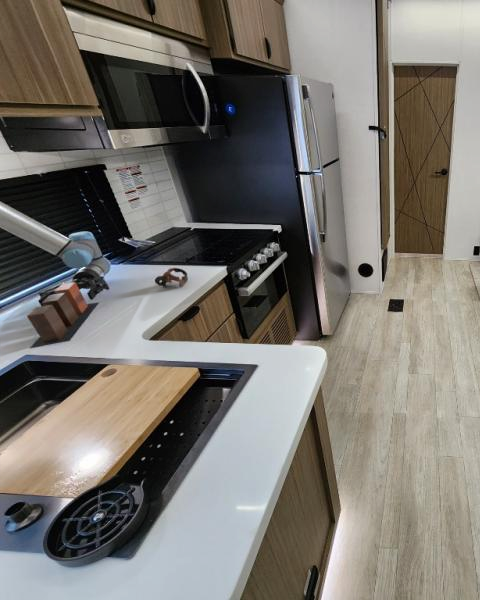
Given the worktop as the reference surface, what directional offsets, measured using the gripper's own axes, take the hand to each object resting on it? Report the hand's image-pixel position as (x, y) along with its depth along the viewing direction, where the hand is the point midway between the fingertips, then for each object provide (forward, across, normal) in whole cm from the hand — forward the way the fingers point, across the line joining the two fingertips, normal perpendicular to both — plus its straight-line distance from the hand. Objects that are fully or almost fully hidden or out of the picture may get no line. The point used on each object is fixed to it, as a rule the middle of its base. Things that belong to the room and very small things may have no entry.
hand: (66, 300), depth 117 cm
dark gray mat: (+6, 0, -7) cm, 9 cm away
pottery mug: (-15, -29, -7) cm, 33 cm away
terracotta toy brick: (-3, 0, -6) cm, 7 cm away
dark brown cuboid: (+15, 0, -6) cm, 16 cm away
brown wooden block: (+6, 0, -6) cm, 8 cm away
